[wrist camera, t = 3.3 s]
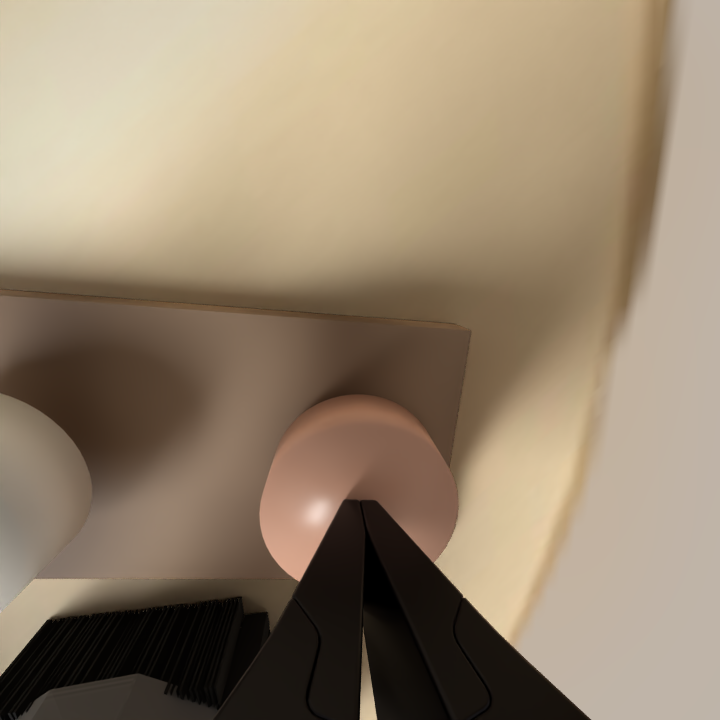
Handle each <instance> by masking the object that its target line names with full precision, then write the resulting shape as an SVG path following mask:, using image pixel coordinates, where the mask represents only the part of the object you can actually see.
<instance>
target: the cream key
mask: <svg viewBox="0 0 720 720" xmlns="http://www.w3.org/2000/svg"><path fill="white" fill-rule="evenodd" d="M91 501H92V484H91V478H90V473H89V471H88V468H87V465H86V462H85V460H84V458H83V456H82V454H81V452H80V451H79V449H78V448H77V446H76V445H75V443H74V442H73V440H72V439H71V438H70V437H69V436H68V435H67V434H66V432H65V431H64V430H63V429H62V428H61V427H60V426H58V425H57V424H56V423H55V422H54V421H53V420H52V419H50V418H49V417H47V416H46V415H45V414H43V413H42V412H41V411H39V410H37V409H35V408H34V407H32V406H30V405H28V404H27V403H24V402H22V401H20V400H18V399H15V398H13V397H10V396H7V395H4V394H1V393H0V613H1V612H2V611H3V610H4V609H5V608H6V607H7V606H8V605H9V604H10V603H11V602H12V601H13V600H14V599H15V598H16V597H17V596H18V595H19V594H20V592H21V591H22V590H23V589H24V588H25V587H26V586H27V585H28V584H29V583H30V582H31V581H32V580H33V579H34V578H35V577H36V576H37V575H38V574H39V573H40V572H41V571H42V570H43V569H44V568H45V567H46V566H47V565H48V564H49V563H50V562H51V561H52V560H53V559H54V558H55V557H56V556H57V555H58V554H59V553H60V552H61V551H62V550H63V549H64V548H65V547H66V546H67V545H68V544H69V543H70V542H71V541H72V540H73V539H74V537H75V536H76V535H77V534H78V533H79V531H80V530H81V529H82V527H83V525H84V523H85V521H86V519H87V517H88V514H89V511H90V508H91Z"/></svg>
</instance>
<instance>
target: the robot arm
mask: <svg viewBox="0 0 720 720" xmlns="http://www.w3.org/2000/svg"><path fill="white" fill-rule="evenodd" d="M363 629H364V635H365V642H366V649H367V655H368V662H369V668H370V675H371V681H372V688H373V695H374V701H375V708H376V714H377V720H591V719H590V718H589V717H587V716H586V715H585V714H584V713H583V712H582V711H581V710H580V709H579V708H578V707H577V706H576V705H575V704H574V703H572V702H571V701H570V700H569V699H568V698H567V697H566V696H565V695H564V694H563V693H562V692H561V691H560V690H558V689H557V688H556V687H555V686H554V685H553V684H552V683H551V682H550V681H549V680H548V679H547V678H545V677H544V676H543V675H542V674H541V673H540V672H539V671H538V670H537V669H536V668H535V667H534V666H532V665H531V664H530V663H529V662H528V661H527V660H526V659H525V658H524V657H523V656H522V655H521V654H520V653H519V652H518V651H517V650H516V649H515V648H514V647H513V646H512V645H510V644H509V643H508V642H507V641H506V640H505V639H504V638H503V637H502V636H501V635H500V634H499V633H498V632H497V631H496V630H495V629H494V628H493V627H492V626H491V625H490V623H489V622H488V621H487V620H486V619H485V618H484V617H483V616H482V615H481V614H480V613H479V612H478V611H477V610H476V609H475V608H474V607H473V605H472V604H471V603H470V602H469V601H468V600H467V599H466V598H463V595H462V594H461V592H460V591H459V590H458V589H457V588H456V587H455V586H454V585H453V584H452V583H451V581H450V580H449V579H448V578H447V577H446V576H445V575H444V574H443V573H442V572H441V570H440V569H439V568H438V567H437V566H436V565H435V564H434V563H433V562H432V561H431V560H430V558H429V557H428V556H427V555H426V554H425V553H424V552H423V551H422V550H421V549H420V547H419V546H418V545H417V544H416V543H415V542H414V541H413V540H412V539H411V538H410V536H409V535H408V534H407V533H406V532H405V531H404V530H403V529H402V528H401V527H400V525H399V524H398V523H397V522H396V521H395V520H394V519H393V518H392V517H391V516H390V514H389V513H388V512H387V511H386V510H385V509H384V508H383V507H382V506H381V505H380V504H379V502H378V501H376V500H361V501H359V500H357V499H344V500H343V501H342V503H341V505H340V507H339V509H338V510H337V512H336V514H335V516H334V518H333V520H332V522H331V524H330V525H329V527H328V529H327V531H326V533H325V535H324V537H323V539H322V541H321V542H320V544H319V546H318V548H317V550H316V552H315V554H314V556H313V557H312V559H311V561H310V563H309V565H308V567H307V569H306V571H305V572H304V574H303V576H302V578H301V580H300V582H299V584H298V586H297V587H296V589H295V591H294V593H293V595H292V599H290V600H289V602H288V604H287V606H286V608H285V610H284V611H283V613H282V615H281V617H280V619H279V620H278V622H277V624H276V626H275V627H274V629H273V631H272V633H271V634H270V636H269V638H268V639H267V641H266V642H265V644H264V645H263V647H262V648H261V650H260V651H259V653H258V654H257V656H256V657H255V659H254V660H253V662H252V664H251V665H250V666H249V668H248V669H247V671H246V672H245V674H244V675H243V676H242V678H241V679H240V681H239V682H238V684H237V685H236V686H235V688H234V689H233V691H232V692H231V694H230V695H229V696H228V698H227V699H226V701H225V702H224V704H223V705H222V706H221V708H220V709H219V711H218V712H217V714H216V715H215V716H214V718H213V719H212V720H360V692H361V664H362V637H363Z"/></svg>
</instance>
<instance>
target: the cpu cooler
mask: <svg viewBox="0 0 720 720" xmlns="http://www.w3.org/2000/svg"><path fill="white" fill-rule="evenodd" d="M267 614H268V612H262V613H255V614H247V615H244V611H243V603H242V597H240V598H239V601H238V597H237V598H235V602H234V598H232V599H231V602H230V598H228V600H227V602H226V600H225V603H224V606H222V600H221V602H220V604H219V600H216V602H215V601H214V600H212V603H211V601H208V604H207V606H206V601H205V604H204V605H203V601H202V602H200V605H199V607H198V605H197V603H196V605H195V608H194V604H192V605H191V604H190V606H189V608H188V609H187V605H185V607H184V606H183V604H181V605H180V607H179V604H177V605H176V607H175V610H174V607H173V606H172V608H171V605H169V606H168V608H167V606H165V607H164V609H163V610H162V607H161V608H160V610H159V608H157V610H156V609H155V607H153V608H152V609H151V608H149V609H148V610H147V612H146V608H145V610H144V612H143V610H141V611H140V613H138V610H136V612H135V614H134V611H132V612H131V610H130V612H129V613H128V612H127V610H125V612H122V613H121V615H120V613H119V611H117V612H116V614H115V612H112V614H111V612H110V614H109V615H108V616H107V613H104V614H102V613H100V615H99V614H96V615H94V614H92V616H91V617H90V618H89V615H88V616H86V615H84V616H80V617H79V618H78V617H76V618H74V617H71V619H70V617H68V618H67V619H66V620H65V618H64V619H63V620H62V618H61V619H60V620H59V622H58V623H57V620H56V619H55V621H54V622H53V623H52V619H51V621H50V619H49V620H47V621H46V622H45V623H44V625H43V626H42V627H41V628H40V629H39V631H38V632H37V633H36V634H35V635H34V637H33V638H32V639H31V640H30V641H29V643H28V644H27V645H26V646H25V647H24V649H23V650H22V651H21V652H20V653H19V655H18V656H17V657H16V658H15V660H14V661H13V662H12V663H11V664H10V666H9V667H8V668H7V669H6V670H5V672H4V673H3V674H2V675H1V676H0V720H212V719H213V718H214V716H215V715H216V714H217V712H218V711H219V709H220V708H221V706H222V705H223V704H224V702H225V701H226V699H227V698H228V696H229V695H230V694H231V692H232V691H233V689H234V688H235V686H236V685H237V684H238V682H239V681H240V679H241V678H242V676H243V675H244V674H245V672H246V671H247V669H248V668H249V666H250V665H251V664H252V662H253V660H254V659H255V657H256V656H257V654H258V653H259V651H260V650H261V648H262V647H263V645H264V644H265V642H266V641H267V639H268V638H269V636H270V634H271V632H270V630H269V628H270V627H269V625H270V624H269V618H268V615H267ZM243 617H244V619H243Z"/></svg>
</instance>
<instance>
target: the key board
mask: <svg viewBox="0 0 720 720" xmlns="http://www.w3.org/2000/svg"><path fill="white" fill-rule="evenodd" d="M470 337H471V330H468V329H466V328H463V327H461V326H458V325H456V324H450V323H437V322H424V321H411V320H398V319H385V318H372V317H358V316H345V315H332V314H319V313H306V312H293V311H280V310H267V309H253V308H240V307H227V306H214V305H201V304H188V303H175V302H162V301H148V300H135V299H122V298H109V297H96V296H83V295H70V294H57V293H43V292H30V291H17V290H4V289H0V393H1V394H4V395H7V396H10V397H13V398H15V399H18V400H20V401H22V402H24V403H27V404H28V405H30V406H32V407H34V408H35V409H37V410H39V411H41V412H42V413H43V414H45V415H46V416H47V417H49V418H50V419H52V420H53V421H54V422H55V423H56V424H57V425H58V426H60V427H61V428H62V429H63V430H64V431H65V432H66V434H67V435H68V436H69V437H70V438H71V439H72V440H73V442H74V443H75V445H76V446H77V448H78V449H79V451H80V452H81V454H82V456H83V458H84V460H85V462H86V465H87V468H88V471H89V473H90V478H91V484H92V501H91V508H90V511H89V514H88V517H87V519H86V521H85V523H84V525H83V527H82V529H81V530H80V531H79V533H78V534H77V535H76V536H75V537H74V539H73V540H72V541H71V542H70V543H69V544H68V545H67V546H66V547H65V548H64V549H63V550H62V551H61V552H60V553H59V554H58V555H57V556H56V557H55V558H54V559H53V560H52V561H51V562H50V563H49V564H48V565H47V566H46V567H45V568H44V569H43V570H42V571H41V572H40V573H39V574H38V575H37V576H36V577H35V578H34V579H294V578H293V577H292V576H290V575H289V574H288V573H287V572H285V571H284V570H283V569H282V568H281V567H280V566H279V565H278V563H277V562H276V561H275V559H274V558H273V557H272V555H271V554H270V552H269V550H268V548H267V546H266V544H265V541H264V539H263V536H262V531H261V527H260V515H259V513H260V502H261V498H262V494H263V490H264V487H265V484H266V481H267V478H268V474H269V471H270V468H271V465H272V462H273V459H274V456H275V453H276V449H277V447H278V445H279V442H280V440H281V438H282V436H283V435H284V433H285V431H286V430H287V429H288V427H289V426H290V425H291V424H292V422H293V421H295V420H296V419H297V418H298V417H299V416H300V415H301V414H302V413H304V412H305V411H306V410H308V409H309V408H311V407H313V406H315V405H316V404H318V403H320V402H323V401H325V400H328V399H331V398H335V397H339V396H344V395H355V394H363V395H372V396H377V397H381V398H385V399H387V400H390V401H393V402H395V403H397V404H399V405H400V406H402V407H404V408H405V409H407V410H408V411H409V412H411V413H412V414H413V415H414V416H415V417H416V418H417V419H418V420H419V421H420V422H421V424H422V425H423V426H424V428H425V429H426V431H427V432H428V434H429V436H430V437H431V439H432V441H433V442H434V444H435V446H436V447H437V449H438V451H439V452H440V454H441V456H442V457H443V459H444V460H445V462H446V464H447V466H448V467H449V466H450V460H451V454H452V447H453V441H454V435H455V429H456V423H457V417H458V411H459V404H460V398H461V392H462V386H463V380H464V374H465V367H466V361H467V355H468V349H469V343H470Z"/></svg>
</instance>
